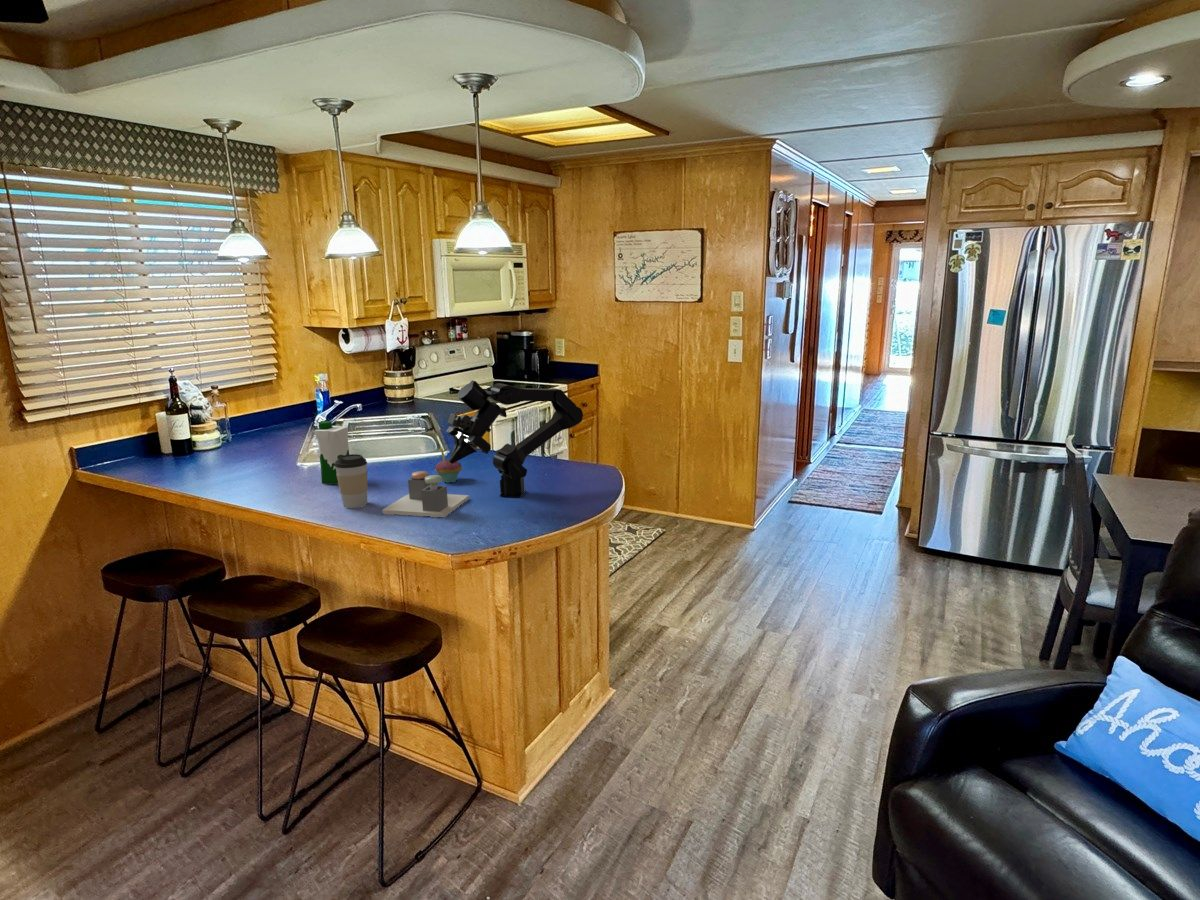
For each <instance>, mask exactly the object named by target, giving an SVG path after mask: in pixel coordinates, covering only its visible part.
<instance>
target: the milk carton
mask: <svg viewBox="0 0 1200 900" xmlns="http://www.w3.org/2000/svg"><path fill="white" fill-rule="evenodd" d="M317 424H318V428H316V429H314V430H313V432H314V435H315V438H316V440H317V447H318V454H319V463H320V464H319V465H320V475H321V477H320V478H321V484H322V483H331V484H330V485H339V484H338V479H337V471H336V467H335V462H336V461H337V460H338V458H339V457H340V456H344V455H350V446H349V426H345V425H344V426H342V425H333V424H332V421H330V420H322V421H321V420H320V421H319V422H318V423H317Z"/></svg>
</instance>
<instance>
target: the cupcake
mask: <svg viewBox="0 0 1200 900" xmlns="http://www.w3.org/2000/svg"><path fill="white" fill-rule="evenodd" d="M440 452H441V456H442V460H440V461H439V462H437V464H436V465H435V466H434V469H435V472H436V473H438V474H437V475H440V476H442V481H441V483H443V482H446V483H445V484H450V483H449V482H452V483H456V482H457V481H458V476H459V474H460V472H461V471H462V470H463V466H462V463H460V462H459V460H458V461H457V462H455V463H453V464H452V463H450V462H449V459H446V456H445V452H444V450H443V447H442V446H441V445H440ZM456 480H457V481H456Z"/></svg>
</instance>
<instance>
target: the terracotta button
mask: <svg viewBox="0 0 1200 900" xmlns="http://www.w3.org/2000/svg"><path fill="white" fill-rule="evenodd" d="M427 476H429V473H428V471H425V470H420V471H414V472H412V473H411V478H413V479H417V480H424V479H425V477H427Z"/></svg>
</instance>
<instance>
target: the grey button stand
mask: <svg viewBox="0 0 1200 900" xmlns="http://www.w3.org/2000/svg"><path fill="white" fill-rule="evenodd" d="M407 484H408V486H407V487H408V494H405V495H404V496H403V497H401V498H399V499H397V500H396V501H394V502H393V503H391V504H390V505H388V506H386V507H384V508H383V509H382V514H383V513H384V514H383V515H394V514H397V515H396V516H408V515H413V516H414V517H423V516H430V517H429V518H437V517H445V516H446V517H447V515H448V514H449V513H450V514H451V512H452V511H453V510H454V511H456V510H457V509H458V508H459V506H460V505H461V504H462V505H464V504H465V503H466V502H468V501H469V500H470V495H467V494H452V493H451V494H450V493H448V488H447V487H448V486H447V485H438V484H437V486H438V491H435V490H430V484H428V483H425V479H424V480H417V479H413V478H412V477H410V478H408V479H407ZM468 499H469V500H468ZM467 500H468V501H467ZM465 501H466V502H465ZM464 502H465V503H464ZM463 503H464V504H463ZM462 505H461V506H462ZM457 507H458V508H457ZM456 508H457V509H456ZM455 509H456V510H455ZM454 511H453V512H454ZM453 512H452V513H453ZM450 514H449V515H450ZM449 515H448V516H449ZM413 516H412V517H413ZM446 517H445V518H446Z"/></svg>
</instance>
